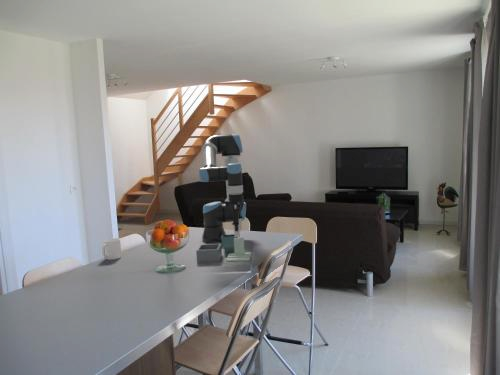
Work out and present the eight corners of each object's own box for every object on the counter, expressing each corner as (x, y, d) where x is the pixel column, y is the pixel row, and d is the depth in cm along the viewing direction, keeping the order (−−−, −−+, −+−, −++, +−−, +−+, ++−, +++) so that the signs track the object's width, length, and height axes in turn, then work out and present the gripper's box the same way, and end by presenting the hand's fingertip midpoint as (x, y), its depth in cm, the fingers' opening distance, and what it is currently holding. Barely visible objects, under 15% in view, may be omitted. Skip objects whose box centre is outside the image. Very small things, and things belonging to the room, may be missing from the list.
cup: (124, 256, 228) (123, 238, 227) (109, 262, 218) (107, 243, 217) (113, 255, 232) (111, 237, 231) (97, 261, 221) (95, 242, 220)
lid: (229, 256, 216) (227, 238, 215) (251, 255, 215) (249, 237, 214) (226, 263, 203) (225, 244, 202) (249, 262, 202) (248, 243, 201)
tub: (201, 257, 216) (200, 244, 215) (222, 256, 215) (221, 243, 215) (197, 264, 204) (196, 250, 203) (219, 263, 204) (218, 249, 203)
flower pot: (238, 252, 219) (237, 235, 219) (222, 253, 219) (221, 236, 219) (238, 250, 228) (237, 233, 228) (222, 251, 228) (221, 234, 227)
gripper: (230, 190, 223) (233, 228, 226) (225, 197, 198) (228, 240, 201) (244, 189, 222) (246, 227, 225) (241, 196, 198) (243, 239, 200)
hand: (238, 233), depth 213 cm, fingers open, 13 cm apart
